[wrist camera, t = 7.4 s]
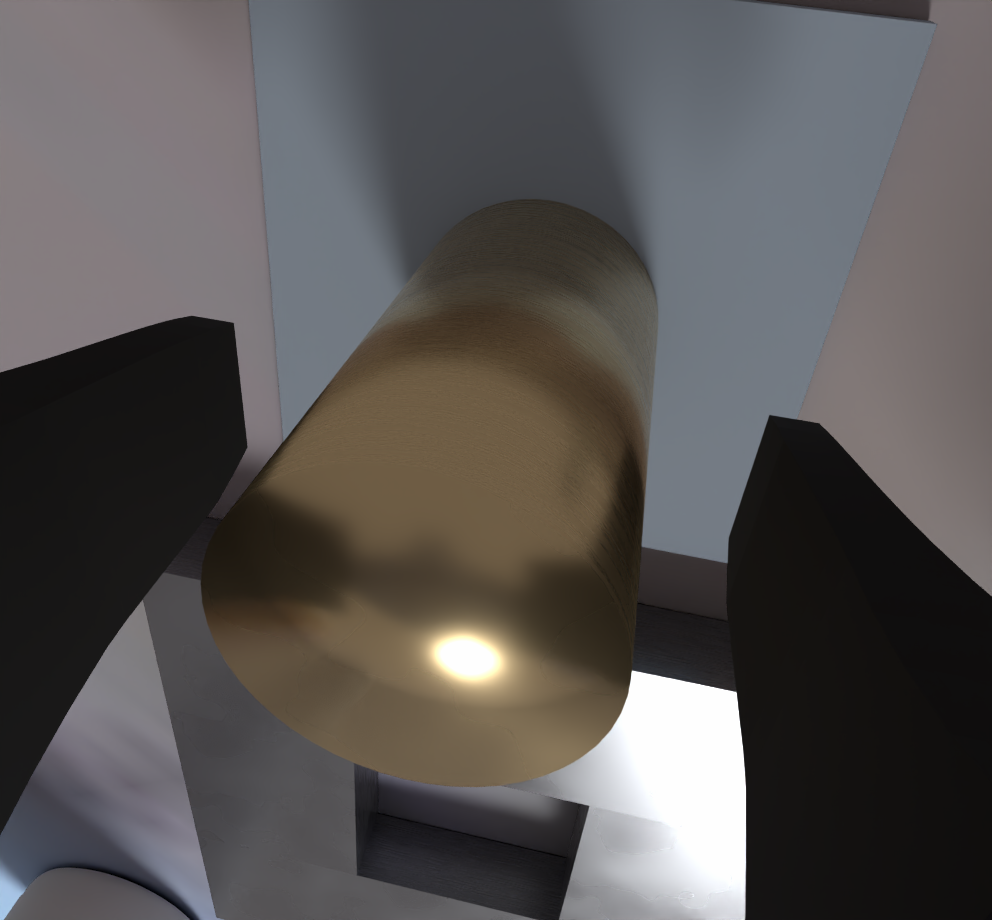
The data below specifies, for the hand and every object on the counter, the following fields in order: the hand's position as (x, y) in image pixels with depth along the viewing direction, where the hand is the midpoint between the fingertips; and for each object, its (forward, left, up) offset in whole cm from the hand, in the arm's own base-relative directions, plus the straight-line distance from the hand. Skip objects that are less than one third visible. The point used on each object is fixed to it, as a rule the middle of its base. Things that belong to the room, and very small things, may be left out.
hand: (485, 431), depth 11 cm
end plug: (0, 0, -4) cm, 4 cm away
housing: (0, +15, -5) cm, 16 cm away
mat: (0, 0, -5) cm, 5 cm away
